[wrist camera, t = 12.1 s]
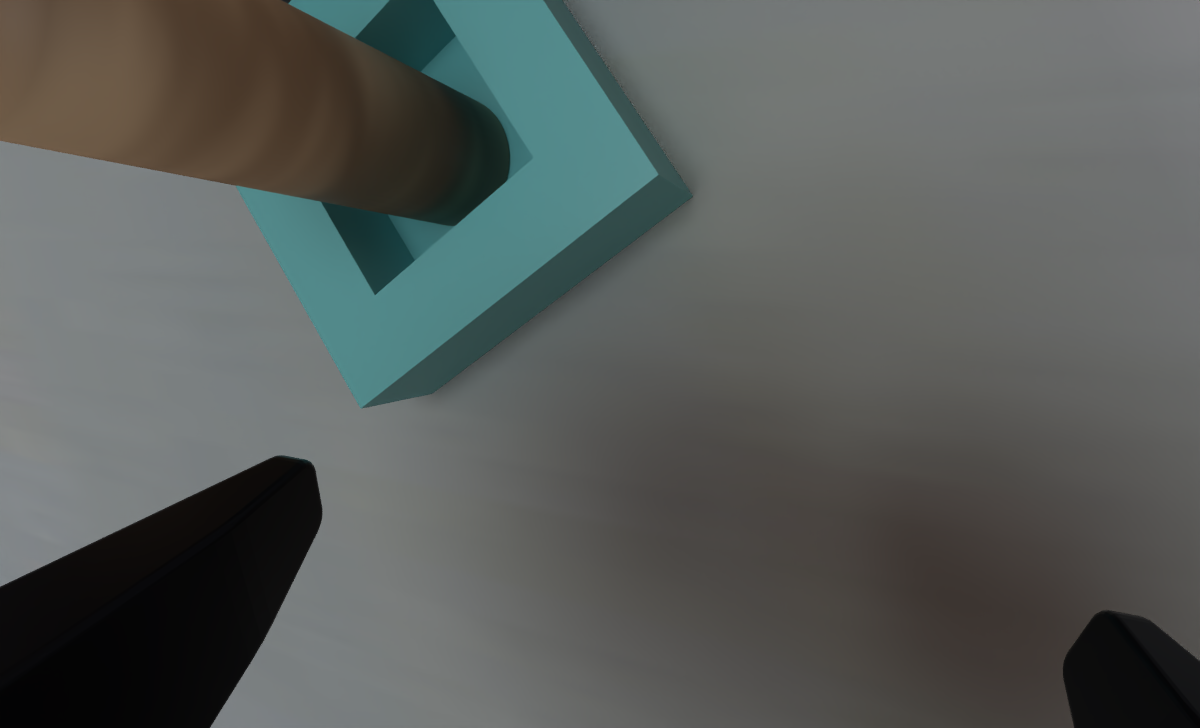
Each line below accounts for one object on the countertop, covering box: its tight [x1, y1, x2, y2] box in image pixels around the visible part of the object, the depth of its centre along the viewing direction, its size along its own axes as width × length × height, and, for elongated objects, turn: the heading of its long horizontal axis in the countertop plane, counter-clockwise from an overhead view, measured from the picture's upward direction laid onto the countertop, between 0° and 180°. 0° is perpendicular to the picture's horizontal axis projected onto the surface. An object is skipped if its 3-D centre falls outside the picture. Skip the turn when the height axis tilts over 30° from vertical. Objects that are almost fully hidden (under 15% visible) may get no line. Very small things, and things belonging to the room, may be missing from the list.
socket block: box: [236, 0, 693, 408], centre depth 21 cm, size 11×11×4 cm
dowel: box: [0, 0, 509, 226], centre depth 16 cm, size 4×4×12 cm
